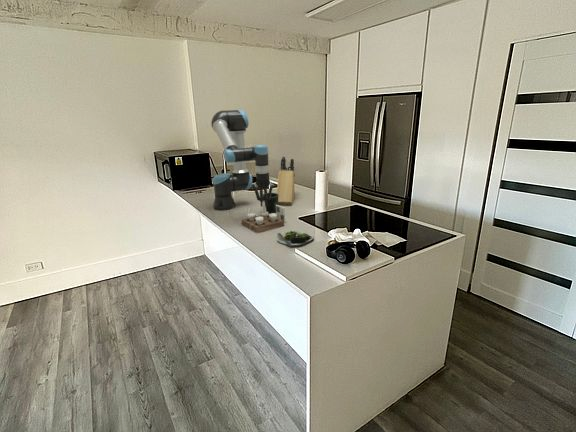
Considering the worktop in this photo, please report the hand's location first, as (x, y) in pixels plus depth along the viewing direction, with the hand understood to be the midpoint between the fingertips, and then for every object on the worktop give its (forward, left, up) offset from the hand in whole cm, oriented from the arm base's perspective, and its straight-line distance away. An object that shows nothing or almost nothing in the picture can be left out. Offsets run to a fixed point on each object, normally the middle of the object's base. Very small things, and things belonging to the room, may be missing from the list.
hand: (264, 211), depth 187 cm
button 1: (0, -9, -4) cm, 10 cm away
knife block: (-32, +39, -7) cm, 51 cm away
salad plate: (+35, -4, -7) cm, 36 cm away
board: (+5, -5, -6) cm, 9 cm away
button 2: (+9, -9, -4) cm, 14 cm away
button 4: (+9, 0, -4) cm, 10 cm away
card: (+5, +10, -6) cm, 12 cm away
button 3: (0, 0, -5) cm, 5 cm away
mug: (-14, +13, -7) cm, 21 cm away
